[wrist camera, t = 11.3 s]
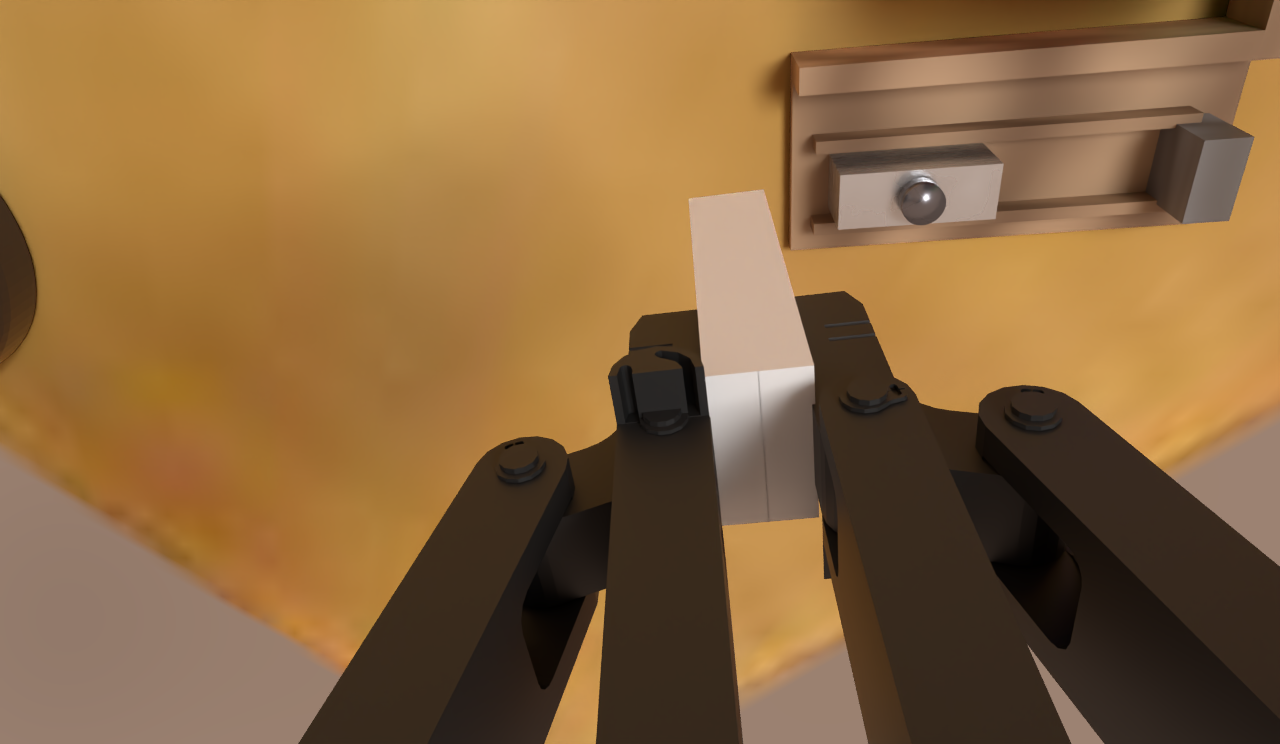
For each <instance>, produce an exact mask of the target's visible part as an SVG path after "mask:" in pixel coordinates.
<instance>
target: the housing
mask: <svg viewBox="0 0 1280 744" xmlns="http://www.w3.org/2000/svg"><path fill="white" fill-rule="evenodd" d="M1277 58H1280V0H1230V2H1229V5H1228V9H1227V13H1226V17H1215V18H1203V19H1191V20H1179V21H1167V22H1155V23H1143V24H1131V25H1118V26H1106V27H1094V28H1082V29H1070V30H1058V31H1046V32H1034V33H1021V34H1009V35H997V36H985V37H973V38H961V39H949V40H937V41H924V42H912V43H900V44H888V45H876V46H864V47H852V48H840V49H827V50H815V51H803V52H791V100H790V209H789V246H790V249H791V250H802V249H817V248H832V247H847V246H862V245H877V244H892V243H907V242H922V241H937V240H951V239H966V238H981V237H996V236H1011V235H1026V234H1041V233H1056V232H1071V231H1086V230H1100V229H1115V228H1130V227H1145V226H1160V225H1175V224H1190V223H1204V222H1218V221H1229V219H1230V216H1231V212H1232V209H1233V206H1234V202H1235V199H1236V196H1237V193H1238V189H1239V186H1240V183H1241V179H1242V176H1243V173H1244V170H1245V166H1246V163H1247V160H1248V156H1249V153H1250V150H1251V147H1252V143H1253V140H1254V136H1252V135H1250V134H1248V133H1246V132H1244V131H1242V130H1240V129H1238V128H1237V127H1235V126H1233V125H1232V124H1233V121H1234V117H1235V114H1236V110H1237V107H1238V103H1239V100H1240V96H1241V93H1242V89H1243V86H1244V82H1245V79H1246V76H1247V72H1248V69H1249V65H1250V62H1251V61H1252V60H1264V59H1277ZM971 143H984V144H985V145H986V146H987V147H988V148H989V149H990V150H991V151H992V152H993V153H994V154H995V155H996V156H997V157H998V158H999V159H1000V160H1001V161H1002V162H1003V163H1004V165H1003V172H1002V178H1001V185H1000V192H999V199H998V206H997V212H996V219H989V220H974V221H959V222H945V223H930V224H927V225H901V226H886V227H872V228H857V229H843V230H838V229H837V226H836V224H835V222H834V219H833V217H832V215H831V212H830V210H829V208H828V185H829V156H830V154H836V153H849V152H863V151H876V150H890V149H903V148H917V147H930V146H944V145H957V144H971Z"/></svg>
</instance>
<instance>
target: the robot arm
mask: <svg viewBox="0 0 1280 744" xmlns="http://www.w3.org/2000/svg"><path fill="white" fill-rule="evenodd" d="M689 210H690V223H691V236H692V248H693V261H694V274H695V287H696V299H697V310H689V311H680V312H671V313H662V314H653V315H644V316H642V317H641V318H640V319H639V321H638V322H637V323H636V325H635V326H634V327H633V328H632V330H631V331H630V340H629V355H626V356H624V357H623V358H621V359H620V360H619V361H618V362H617V363H616V364H614V365H613V366H612V368H611V371H610V373H609V375H608V379H609V384H610V390H611V395H612V400H613V406H614V411H615V416H616V422H617V430H616V431H615V432H614V433H613V434H612V435H611V436H610V437H608V438H606V439H605V440H603V441H602V442H600V443H598V444H596V445H593V446H591V447H588V448H586V449H583V450H580V451H576V452H573V453H570V454H567V453H566V451H565V449H564V447H563V446H562V445H560V444H559V443H557V442H556V441H554V440H553V439H548V438H543V437H538V436H536V437H522V438H517V439H514V440H511V441H508V442H504V443H502V444H500V445H498V446H497V447H495V448H493V449H492V450H490V451H488V452H487V453H486V454H485V455H484V456H483V457H482V458H481V459H480V460H479V461H478V463H477V464H476V465H475V467H474V469H473V470H472V472H471V473H470V475H469V476H468V478H467V480H466V481H465V483H464V484H463V486H462V487H461V489H460V491H459V492H458V494H457V495H456V497H455V498H454V500H453V502H452V503H451V505H450V506H449V508H448V509H447V511H446V513H445V514H444V516H443V517H442V519H441V520H440V522H439V524H438V525H437V527H436V528H435V530H434V531H433V533H432V535H431V536H430V538H429V539H428V541H427V542H426V544H425V546H424V547H423V549H422V550H421V552H420V553H419V555H418V557H417V558H416V560H415V561H414V563H413V564H412V566H411V568H410V569H409V571H408V572H407V574H406V575H405V577H404V579H403V580H402V582H401V583H400V585H399V586H398V588H397V590H396V591H395V593H394V594H393V596H392V597H391V599H390V601H389V602H388V604H387V605H386V607H385V608H384V610H383V612H382V613H381V615H380V616H379V618H378V619H377V621H376V623H375V624H374V626H373V627H372V629H371V630H370V632H369V634H368V635H367V637H366V638H365V640H364V641H363V643H362V645H361V646H360V648H359V649H358V651H357V652H356V654H355V656H354V657H353V659H352V660H351V662H350V663H349V665H348V667H347V668H346V670H345V671H344V673H343V674H342V676H341V677H340V679H339V681H338V682H337V684H336V686H335V687H334V689H333V691H332V692H331V693H330V695H329V696H328V698H327V699H326V701H325V703H324V704H323V706H322V708H321V709H320V710H319V712H318V714H317V715H316V717H315V718H314V720H313V721H312V723H311V725H310V726H309V728H308V729H307V731H306V733H305V734H304V736H303V737H302V739H301V740H300V742H299V744H544V743H545V740H546V737H547V735H548V732H549V730H550V727H551V724H552V722H553V719H554V716H555V714H556V711H557V709H558V706H559V703H560V701H561V698H562V695H563V693H564V690H565V687H566V685H567V682H568V680H569V677H570V674H571V672H572V669H573V666H574V664H575V661H576V659H577V656H578V653H579V651H580V648H581V645H582V643H583V640H584V638H585V635H586V632H587V630H588V627H589V624H590V622H591V619H592V616H593V614H594V611H595V609H596V606H597V602H598V595H599V591H600V590H603V589H606V600H605V615H604V630H603V646H602V661H601V676H600V691H599V706H598V722H597V737H596V744H743V738H742V728H741V717H740V706H739V696H738V685H737V675H736V664H735V653H734V643H733V632H732V622H731V611H730V600H729V590H728V579H727V569H726V558H725V548H724V539H723V530H722V526H724V525H735V524H747V523H758V522H770V521H781V520H792V519H804V518H815V517H819V504H818V498H819V503H820V507H821V511H822V522H823V556H824V579H830V578H831V579H832V584H833V588H834V592H835V597H836V601H837V606H838V610H839V615H840V619H841V624H842V628H843V632H844V637H845V641H846V646H847V650H848V654H849V659H850V663H851V668H852V672H853V677H854V681H855V685H856V690H857V695H858V699H859V704H860V708H861V712H862V717H863V721H864V726H865V730H866V735H867V739H868V744H1071V742H1070V740H1069V737H1068V735H1067V733H1066V731H1065V729H1064V726H1063V724H1062V722H1061V720H1060V717H1059V715H1058V713H1057V711H1056V708H1055V706H1054V704H1053V702H1052V700H1051V697H1050V695H1049V693H1048V690H1047V688H1046V686H1045V684H1044V681H1043V679H1042V677H1041V675H1040V673H1039V670H1038V668H1037V666H1036V663H1035V661H1034V659H1033V657H1032V654H1031V652H1030V650H1029V648H1028V645H1029V647H1030V648H1031V650H1032V651H1033V652H1034V653H1035V655H1036V656H1037V657H1038V658H1039V660H1040V661H1041V662H1042V664H1043V665H1044V666H1045V667H1046V669H1047V670H1048V671H1049V673H1050V674H1051V675H1052V677H1053V678H1054V679H1055V681H1056V682H1057V683H1058V684H1059V686H1060V687H1061V688H1062V690H1063V691H1064V692H1065V693H1066V695H1067V696H1068V697H1069V699H1070V700H1071V701H1072V702H1073V704H1074V705H1075V706H1076V708H1077V709H1078V710H1079V711H1080V713H1081V714H1082V715H1083V717H1084V718H1085V719H1086V720H1087V722H1088V723H1089V724H1090V726H1091V727H1092V728H1093V729H1094V731H1095V732H1096V733H1097V735H1098V736H1099V737H1100V738H1101V740H1102V741H1103V742H1104V744H1280V566H1278V565H1277V564H1276V563H1275V562H1273V561H1272V560H1271V559H1269V557H1267V556H1266V555H1265V554H1264V553H1262V552H1261V551H1260V550H1259V549H1258V548H1256V547H1255V546H1254V545H1253V544H1251V543H1250V542H1249V541H1248V540H1247V539H1245V538H1244V537H1243V536H1242V535H1240V534H1239V533H1238V532H1237V531H1236V530H1234V529H1233V528H1232V527H1231V526H1229V525H1228V524H1227V523H1226V522H1225V521H1223V520H1222V519H1221V518H1220V517H1218V516H1217V515H1216V514H1215V513H1214V512H1212V511H1211V510H1210V509H1209V508H1207V507H1206V506H1205V505H1204V504H1202V503H1201V502H1200V501H1199V500H1198V499H1197V498H1195V497H1194V496H1193V495H1192V494H1190V493H1189V492H1188V491H1187V490H1185V489H1184V488H1183V487H1182V486H1181V485H1179V484H1178V483H1177V482H1176V481H1175V480H1173V479H1172V478H1171V477H1170V476H1168V475H1167V474H1166V473H1165V472H1164V471H1162V470H1161V469H1160V468H1159V467H1157V466H1156V465H1155V464H1154V463H1153V462H1151V461H1150V460H1149V459H1148V458H1147V457H1145V456H1144V455H1143V454H1142V453H1140V452H1139V451H1138V450H1137V449H1136V448H1134V447H1133V446H1132V445H1131V444H1129V443H1128V442H1127V441H1126V440H1125V439H1123V438H1122V437H1121V436H1120V435H1118V434H1117V433H1116V432H1115V431H1114V430H1112V429H1111V428H1110V427H1109V426H1107V425H1106V424H1105V423H1104V422H1103V421H1101V420H1100V419H1099V418H1098V417H1096V416H1095V415H1094V414H1093V413H1092V412H1090V411H1089V410H1088V409H1087V408H1085V407H1084V406H1083V405H1082V404H1081V403H1079V402H1078V401H1076V400H1075V399H1073V398H1071V397H1069V396H1068V395H1066V394H1064V393H1062V392H1059V391H1055V390H1052V389H1048V388H1045V387H1038V386H1026V385H1020V386H1012V387H1004V388H1001V389H999V390H996V391H994V392H991V393H989V394H988V395H987V396H986V397H985V398H984V399H983V400H982V401H981V402H980V403H979V413H969V412H959V411H950V410H944V409H938V408H933V407H930V406H927V405H924V404H921V403H919V401H918V399H917V396H916V394H915V393H914V392H913V391H912V389H911V388H910V387H909V386H908V385H907V384H906V383H904V382H902V381H900V380H898V379H896V378H894V377H893V374H892V372H891V370H890V367H889V365H888V362H887V360H886V358H885V355H884V353H883V351H882V348H881V346H880V344H879V341H878V339H877V337H875V332H874V330H873V327H872V325H871V323H870V321H869V318H868V315H867V313H866V311H865V308H864V306H863V304H862V303H861V302H859V301H858V300H856V299H855V298H853V297H852V296H851V295H849V294H848V293H846V292H845V291H841V292H832V293H823V294H814V295H805V296H796V297H794V294H793V290H792V287H791V283H790V280H789V276H788V273H787V269H786V266H785V262H784V259H783V255H782V252H781V248H780V245H779V241H778V238H777V234H776V231H775V227H774V224H773V220H772V217H771V213H770V210H769V207H768V203H767V200H766V196H765V193H764V189H763V190H755V191H747V192H738V193H730V194H722V195H714V196H706V197H698V198H689ZM35 304H36V283H35V275H34V270H33V265H32V261H31V257H30V254H29V251H28V248H27V245H26V243H25V240H24V238H23V235H22V233H21V231H20V229H19V227H18V225H17V223H16V221H15V219H14V217H13V216H12V214H11V212H10V210H9V209H8V207H7V206H6V204H5V202H4V201H3V199H2V198H1V197H0V363H1V362H2V361H4V360H5V359H6V358H7V357H9V356H10V355H11V354H12V353H13V352H14V351H15V350H16V349H17V347H18V346H19V345H20V344H21V342H22V341H23V339H24V338H25V336H26V334H27V332H28V330H29V328H30V325H31V323H32V319H33V315H34V311H35ZM1027 644H1028V645H1027Z"/></svg>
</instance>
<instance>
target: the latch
mask: <svg viewBox="0 0 1280 744" xmlns="http://www.w3.org/2000/svg"><path fill="white" fill-rule="evenodd" d="M1003 165H1004V163H1003V162H1002V161H1001V160H1000V159H999V158H998V157H997V156H996V155H995V154H994V153H993V152H992V151H991V150H990V149H989V148H988V147H987V146H986V145H985V144H984V143H971V144H957V145H944V146H930V147H917V148H903V149H890V150H876V151H863V152H849V153H836V154H830V156H829V185H828V208H829V210H830V212H831V215H832V217H833V219H834V222H835V224H836V226H837V229H838V230H843V229H857V228H872V227H886V226H901V225H927V224H930V223H945V222H959V221H974V220H989V219H996V212H997V206H998V199H999V192H1000V185H1001V178H1002V172H1003Z"/></svg>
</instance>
